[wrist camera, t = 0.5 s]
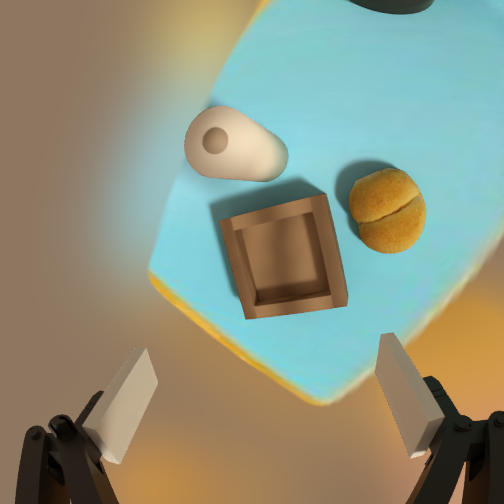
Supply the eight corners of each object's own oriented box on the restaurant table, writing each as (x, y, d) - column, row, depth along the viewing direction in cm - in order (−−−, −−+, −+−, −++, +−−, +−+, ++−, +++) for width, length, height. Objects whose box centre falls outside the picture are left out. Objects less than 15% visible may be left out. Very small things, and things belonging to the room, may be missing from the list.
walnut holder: (326, 193, 31) (323, 193, 28) (348, 296, 32) (347, 306, 29) (230, 218, 36) (218, 220, 33) (254, 309, 37) (245, 319, 34)
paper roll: (280, 126, 31) (239, 94, 20) (294, 174, 32) (259, 164, 21) (234, 141, 33) (177, 122, 22) (246, 188, 34) (192, 187, 23)
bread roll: (369, 261, 31) (371, 269, 27) (340, 187, 31) (337, 185, 27) (433, 235, 28) (443, 240, 24) (405, 159, 27) (411, 155, 24)
